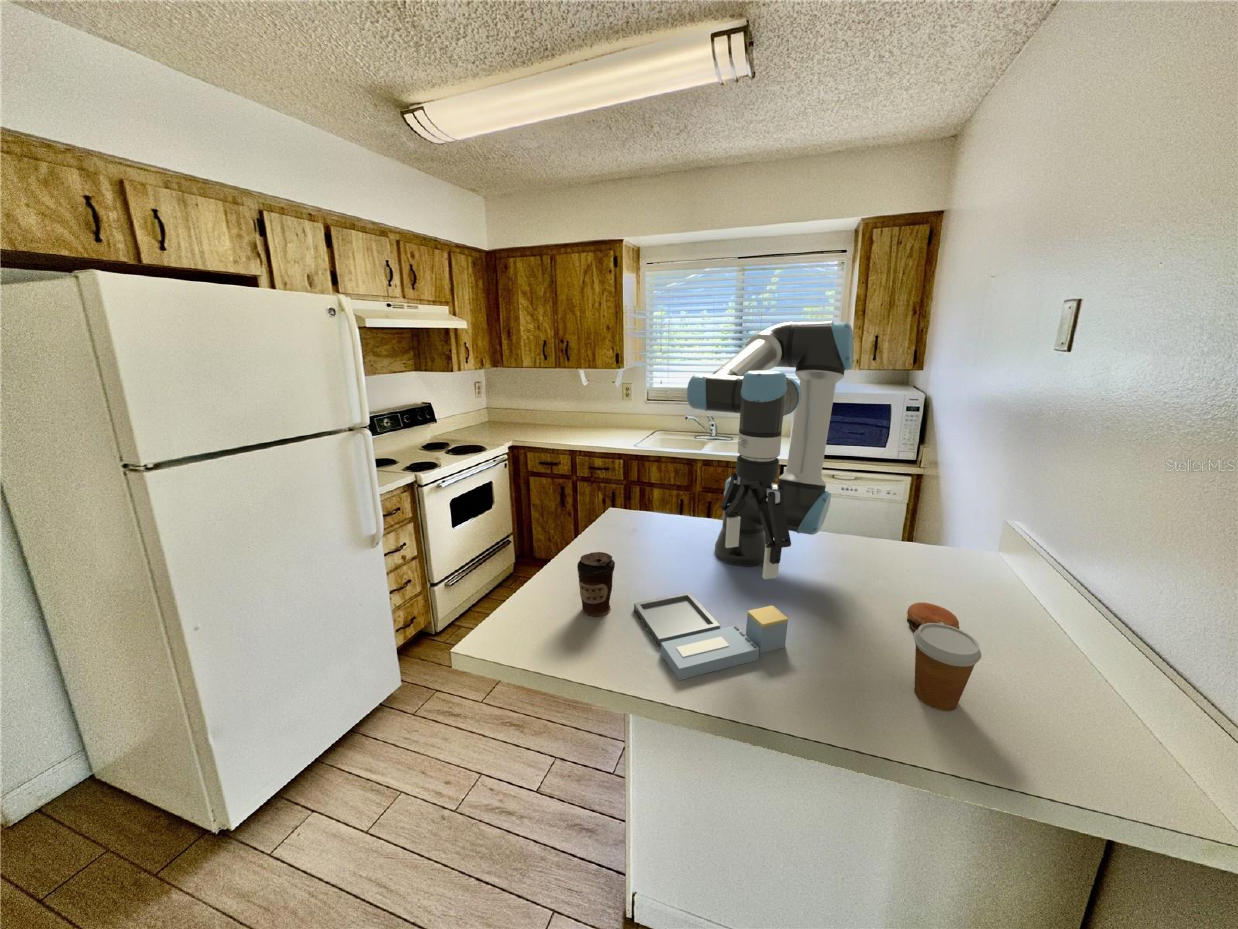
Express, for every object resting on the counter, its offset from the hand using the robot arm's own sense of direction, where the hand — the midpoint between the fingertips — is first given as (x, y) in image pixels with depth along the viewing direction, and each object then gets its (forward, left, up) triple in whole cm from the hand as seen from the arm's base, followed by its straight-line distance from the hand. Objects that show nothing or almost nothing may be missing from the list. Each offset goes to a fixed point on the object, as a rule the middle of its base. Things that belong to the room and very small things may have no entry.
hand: (749, 561), depth 94 cm
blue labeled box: (+9, +2, -18) cm, 20 cm away
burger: (-40, +10, -18) cm, 45 cm away
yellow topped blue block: (-4, +2, -18) cm, 18 cm away
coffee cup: (+25, -21, -18) cm, 37 cm away
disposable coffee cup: (-22, +25, -18) cm, 38 cm away
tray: (+10, -11, -18) cm, 23 cm away
